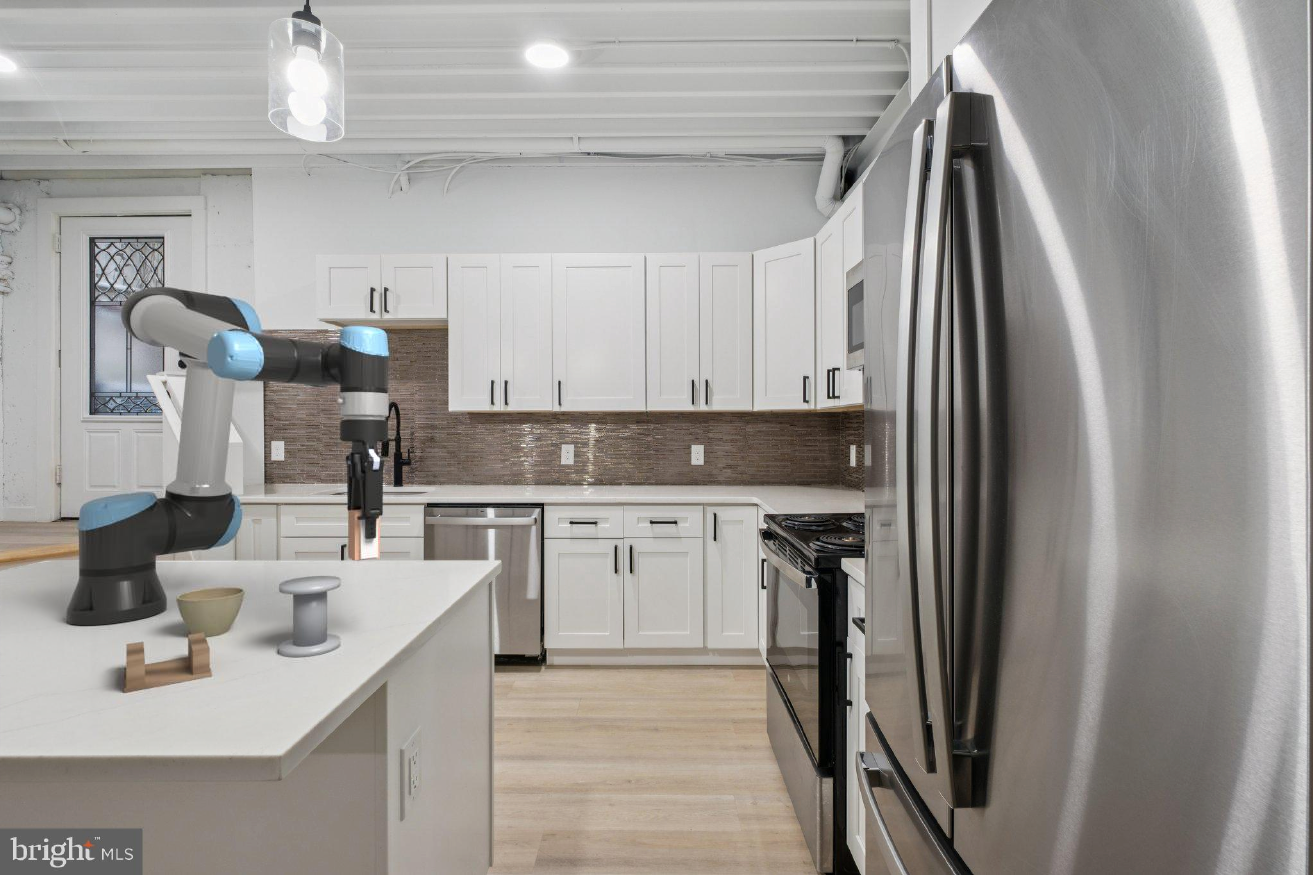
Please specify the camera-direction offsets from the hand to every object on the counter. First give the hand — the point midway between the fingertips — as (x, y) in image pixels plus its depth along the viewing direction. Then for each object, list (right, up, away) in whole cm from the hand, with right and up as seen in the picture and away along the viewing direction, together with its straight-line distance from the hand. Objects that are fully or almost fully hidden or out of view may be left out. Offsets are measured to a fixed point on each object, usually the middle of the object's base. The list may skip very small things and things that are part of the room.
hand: (364, 555), depth 112 cm
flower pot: (-29, -15, +5) cm, 33 cm away
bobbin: (-8, -15, -3) cm, 17 cm away
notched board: (-22, -15, -15) cm, 31 cm away
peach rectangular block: (0, 0, 0) cm, 0 cm away
